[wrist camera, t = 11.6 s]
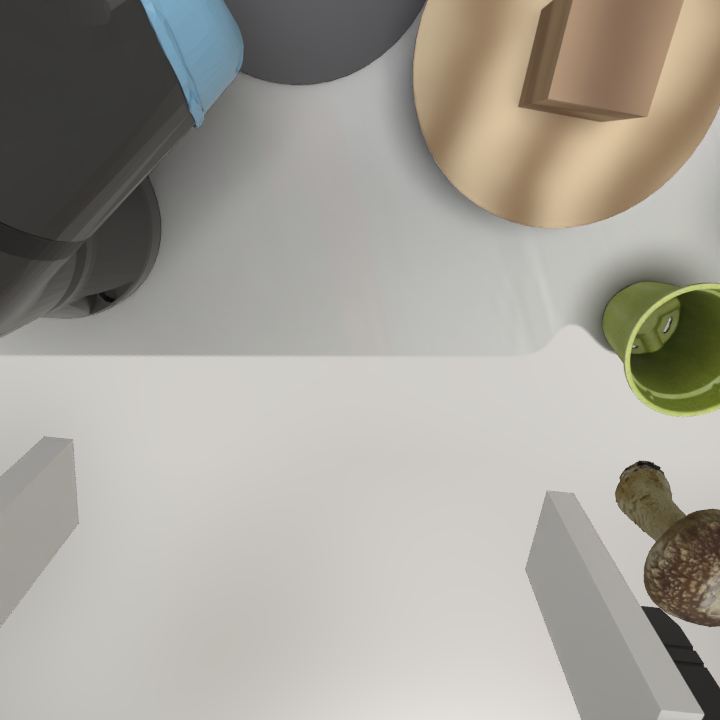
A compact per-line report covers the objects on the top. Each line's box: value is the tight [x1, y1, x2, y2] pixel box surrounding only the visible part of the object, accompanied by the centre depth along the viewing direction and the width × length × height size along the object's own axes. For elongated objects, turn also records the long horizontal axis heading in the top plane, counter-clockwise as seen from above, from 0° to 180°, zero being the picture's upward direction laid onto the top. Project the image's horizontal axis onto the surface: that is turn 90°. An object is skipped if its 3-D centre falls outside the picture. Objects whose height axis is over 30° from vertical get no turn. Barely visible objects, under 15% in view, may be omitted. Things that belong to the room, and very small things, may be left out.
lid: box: [413, 0, 720, 228], centre depth 30 cm, size 18×18×7 cm
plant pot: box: [602, 281, 720, 417], centre depth 42 cm, size 9×9×9 cm
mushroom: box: [615, 461, 720, 627], centre depth 44 cm, size 9×9×15 cm
